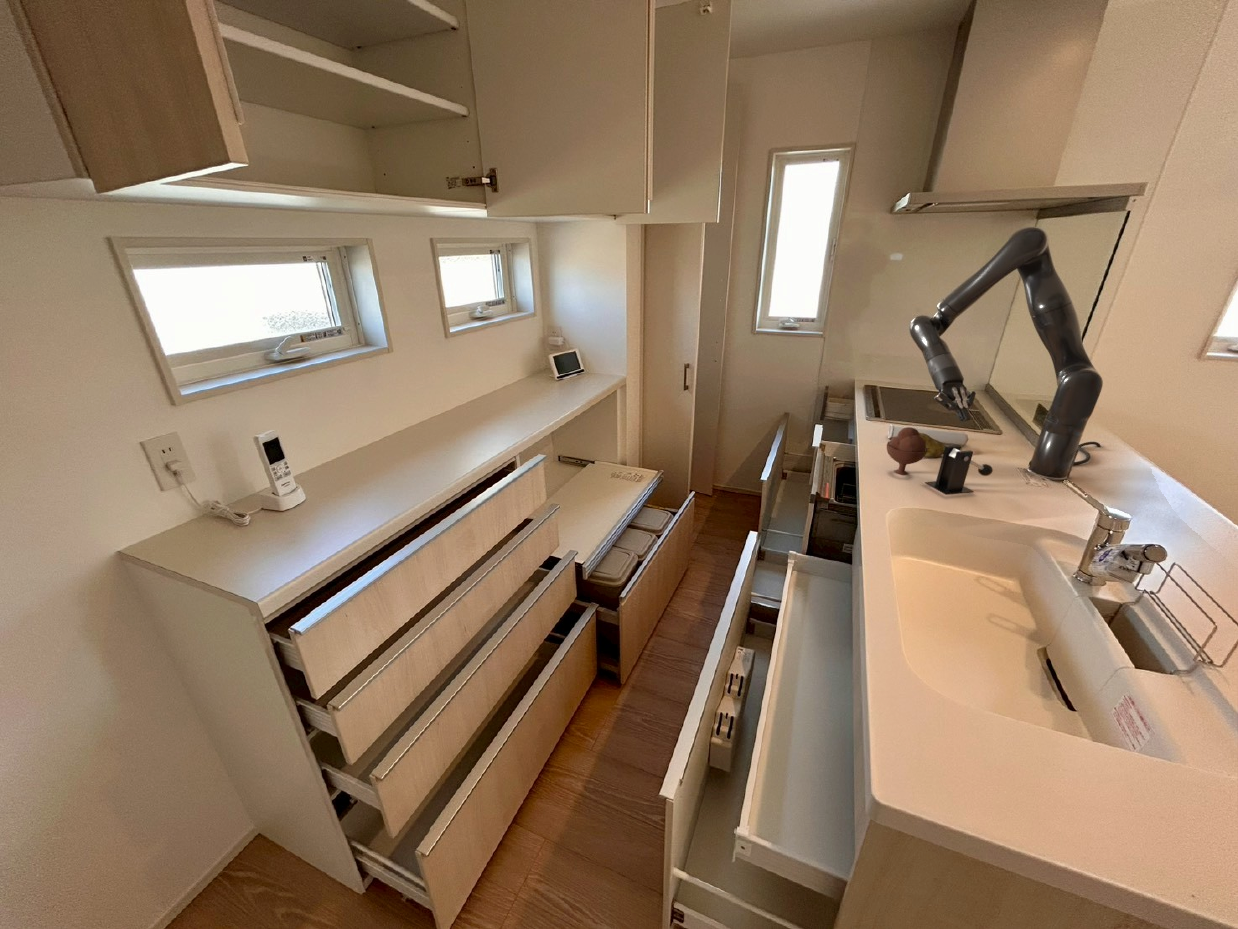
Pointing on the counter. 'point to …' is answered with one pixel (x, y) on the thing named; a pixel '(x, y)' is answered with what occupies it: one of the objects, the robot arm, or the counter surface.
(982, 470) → the lever
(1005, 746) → the counter surface
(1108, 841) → the counter surface
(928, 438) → the pear
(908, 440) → the ice cream bowl
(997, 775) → the counter surface
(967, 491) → the upright post with base
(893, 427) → the tube
